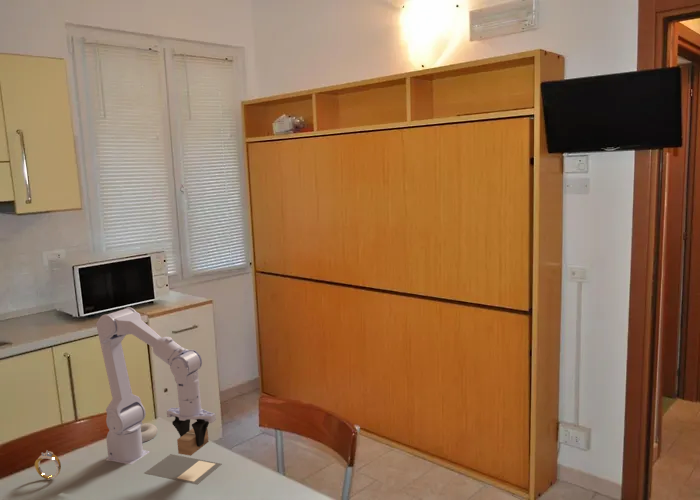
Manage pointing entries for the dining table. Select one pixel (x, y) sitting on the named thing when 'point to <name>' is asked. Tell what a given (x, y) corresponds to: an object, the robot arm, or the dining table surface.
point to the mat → (183, 469)
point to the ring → (52, 457)
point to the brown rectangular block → (190, 443)
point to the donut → (148, 432)
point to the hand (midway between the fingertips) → (193, 443)
